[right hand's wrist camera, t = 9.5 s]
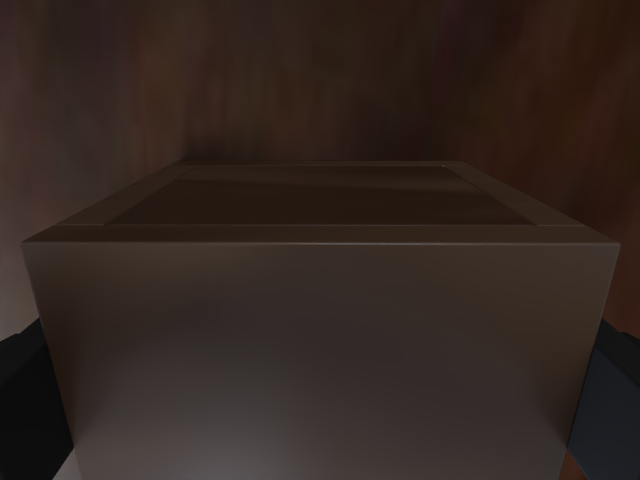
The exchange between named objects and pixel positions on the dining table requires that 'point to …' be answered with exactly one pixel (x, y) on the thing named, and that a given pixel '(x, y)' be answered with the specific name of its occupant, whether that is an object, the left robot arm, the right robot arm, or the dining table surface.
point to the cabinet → (320, 323)
